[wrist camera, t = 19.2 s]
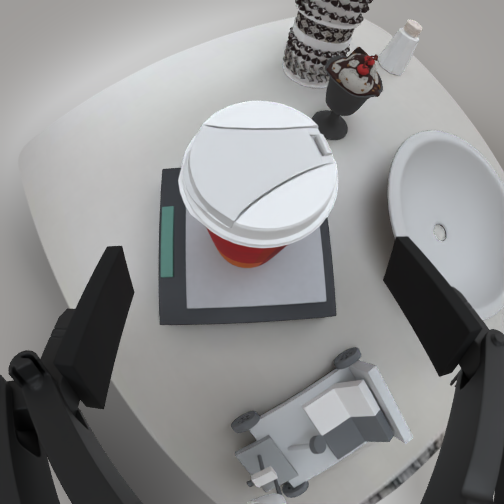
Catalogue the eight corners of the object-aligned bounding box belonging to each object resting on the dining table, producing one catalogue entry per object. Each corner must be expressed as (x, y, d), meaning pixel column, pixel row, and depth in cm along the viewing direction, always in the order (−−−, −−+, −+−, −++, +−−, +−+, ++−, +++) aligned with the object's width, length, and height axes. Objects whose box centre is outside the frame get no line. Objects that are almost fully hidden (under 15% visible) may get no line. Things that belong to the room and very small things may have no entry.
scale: (166, 324, 30) (157, 325, 26) (167, 180, 33) (161, 165, 29) (327, 316, 31) (339, 316, 27) (313, 177, 34) (322, 162, 31)
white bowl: (435, 362, 31) (468, 367, 24) (324, 211, 33) (344, 188, 27) (507, 249, 35) (535, 239, 29) (424, 129, 38) (446, 106, 31)
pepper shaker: (403, 64, 41) (428, 25, 30) (403, 80, 40) (432, 39, 29) (377, 51, 41) (400, 9, 30) (376, 67, 40) (400, 22, 29)
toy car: (275, 547, 16) (202, 474, 18) (264, 498, 26) (209, 431, 28) (438, 443, 19) (396, 355, 21) (391, 418, 29) (351, 345, 30)
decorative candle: (350, 76, 39) (410, -50, 14) (314, 99, 37) (372, -55, 13) (306, 45, 40) (343, -80, 15) (267, 64, 38) (293, -83, 13)
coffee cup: (273, 187, 30) (307, 83, 15) (302, 264, 28) (373, 212, 13) (191, 210, 28) (159, 114, 14) (216, 293, 27) (199, 266, 12)
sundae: (328, 154, 35) (376, 73, 20) (295, 116, 36) (324, 29, 21) (362, 134, 36) (413, 61, 22) (330, 100, 37) (366, 22, 23)
